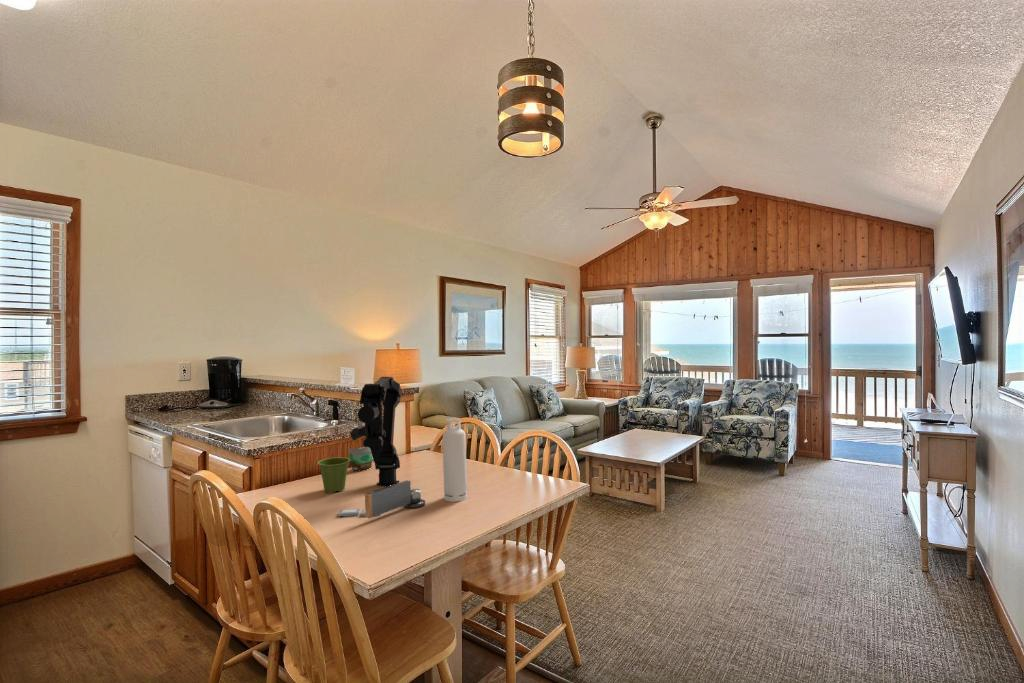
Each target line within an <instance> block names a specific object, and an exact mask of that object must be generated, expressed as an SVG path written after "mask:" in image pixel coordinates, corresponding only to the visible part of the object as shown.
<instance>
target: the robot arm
mask: <svg viewBox="0 0 1024 683" xmlns="http://www.w3.org/2000/svg"><path fill="white" fill-rule="evenodd" d="M402 394H403V393H402V388H401V385H400V384H399V383H398V382H397V381H395V380H394V377H393V376H381V377H379V379H378V380H376V381H375V382H374V383H365V384H364V386H363V387H362V388H361V394H360V400H359V404H360V405H363V406H362V407H360V409H358V413H357V417H358V420H359V421H360V422H362V423H364V425H362V426H359V427H354V428H352V429H351V430H350V431H349V436H350V438H351V440H352V441H354V442H355V441H356V440H357V439H360V438H362V437H364V439H363V441H362V444H363V446H362V447H369V448H370V449H371V453H372V461H373V462H374V468H375V470H376V471H377V470H379V471H378V472H379V473H378V482H376V485H377V484H379V486H383V485H385V486H384V487H387V486H390V485H394V484H397V483H400V480H397V470H398V469H400V468H401V463H400V462H401V461H400V457H399V455H398V453H397V449H396V446H395V444H394V437H395V436H394V435H395V434H394V433H395V420H396V418H395V416H396V408H397V407H398V406H399V404H400V402H401V398H402Z"/></svg>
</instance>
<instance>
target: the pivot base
mask: <svg viewBox="0 0 1024 683" xmlns="http://www.w3.org/2000/svg"><path fill="white" fill-rule="evenodd" d="M425 506H426V500H425V499H423V498H421V501H420V502H418V503H410V504H407V505H405V506H404V508H405V509H410V510H411V509H415V510H416V509H419V508H423V507H425Z"/></svg>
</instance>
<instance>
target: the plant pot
mask: <svg viewBox="0 0 1024 683" xmlns="http://www.w3.org/2000/svg"><path fill="white" fill-rule="evenodd" d="M350 463H351V460H350V457H344V456H343V457H339V456H338V457H330V458H329V457H327V458H324V459H321V460H318V461H317V464H318V466H319V470H320V474H321V478H322V479H321V480H322V484H323V490H324V492H325V493H329V492H333V493H335V492H336V491H340V492H342V491H344V490H345V488H346V481H347V475H348V468H349V464H350ZM343 489H344V490H343ZM341 490H342V491H341ZM336 493H337V492H336Z"/></svg>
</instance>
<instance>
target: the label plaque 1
mask: <svg viewBox="0 0 1024 683" xmlns="http://www.w3.org/2000/svg"><path fill="white" fill-rule="evenodd" d="M360 510H361V508H350V509H340V511H339V513H338V518H341V517H340V516H348V517H356V516H355V515H358V514H359V515H360V512H359V511H360ZM353 515H354V516H353ZM359 515H358V516H359Z"/></svg>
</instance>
